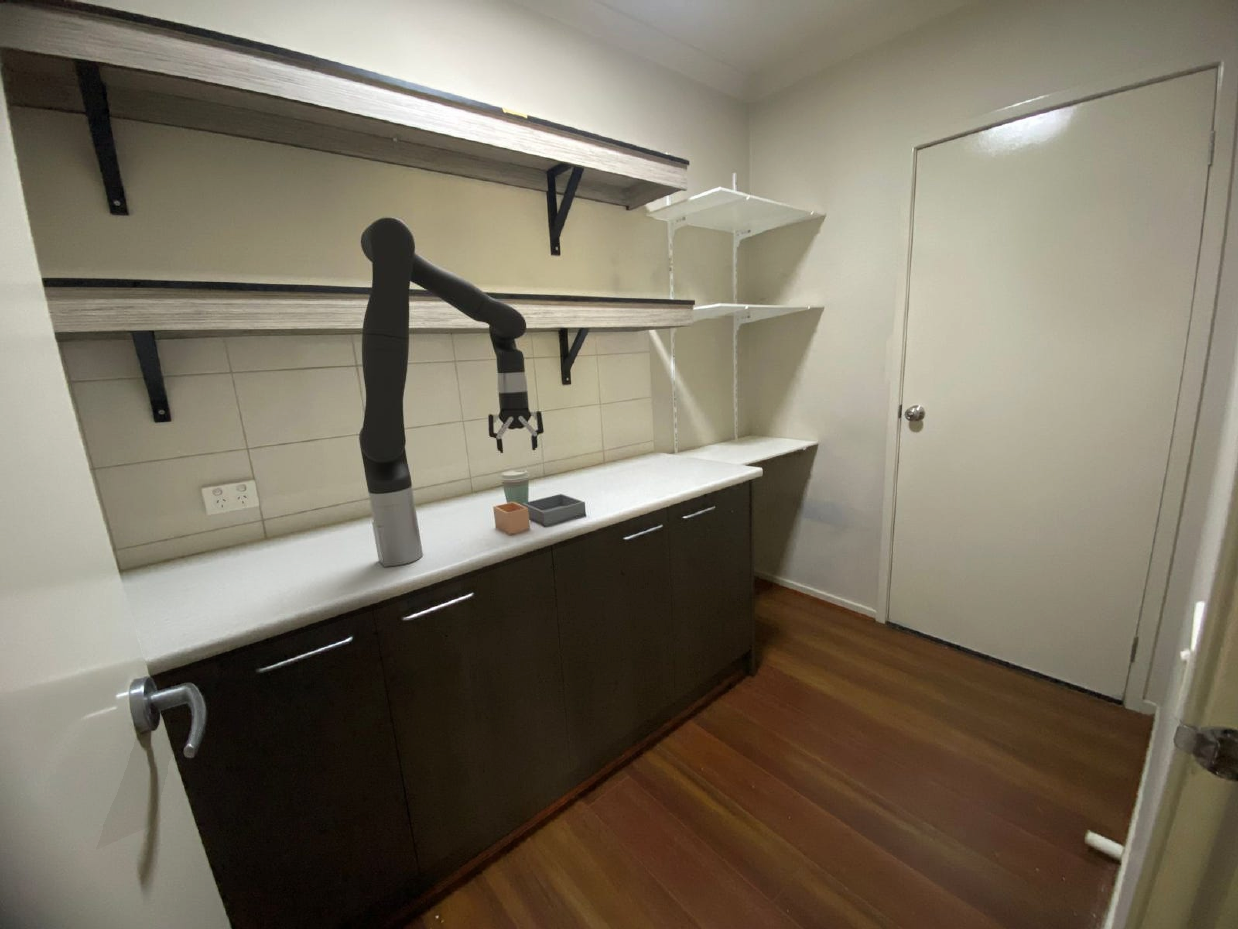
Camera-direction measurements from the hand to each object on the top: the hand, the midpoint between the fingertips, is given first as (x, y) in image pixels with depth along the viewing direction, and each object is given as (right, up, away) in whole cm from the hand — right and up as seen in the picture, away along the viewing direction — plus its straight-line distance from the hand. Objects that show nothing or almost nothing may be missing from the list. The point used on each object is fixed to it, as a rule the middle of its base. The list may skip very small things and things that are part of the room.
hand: (517, 451), depth 131 cm
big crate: (+9, -18, +10) cm, 23 cm away
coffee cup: (-3, -18, +17) cm, 25 cm away
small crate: (-2, -21, +1) cm, 21 cm away
